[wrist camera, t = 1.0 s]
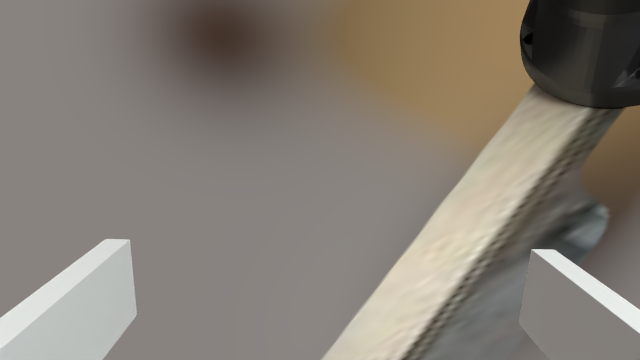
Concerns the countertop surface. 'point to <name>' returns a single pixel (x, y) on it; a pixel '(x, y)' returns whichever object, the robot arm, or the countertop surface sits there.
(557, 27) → the robot arm
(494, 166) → the countertop surface
